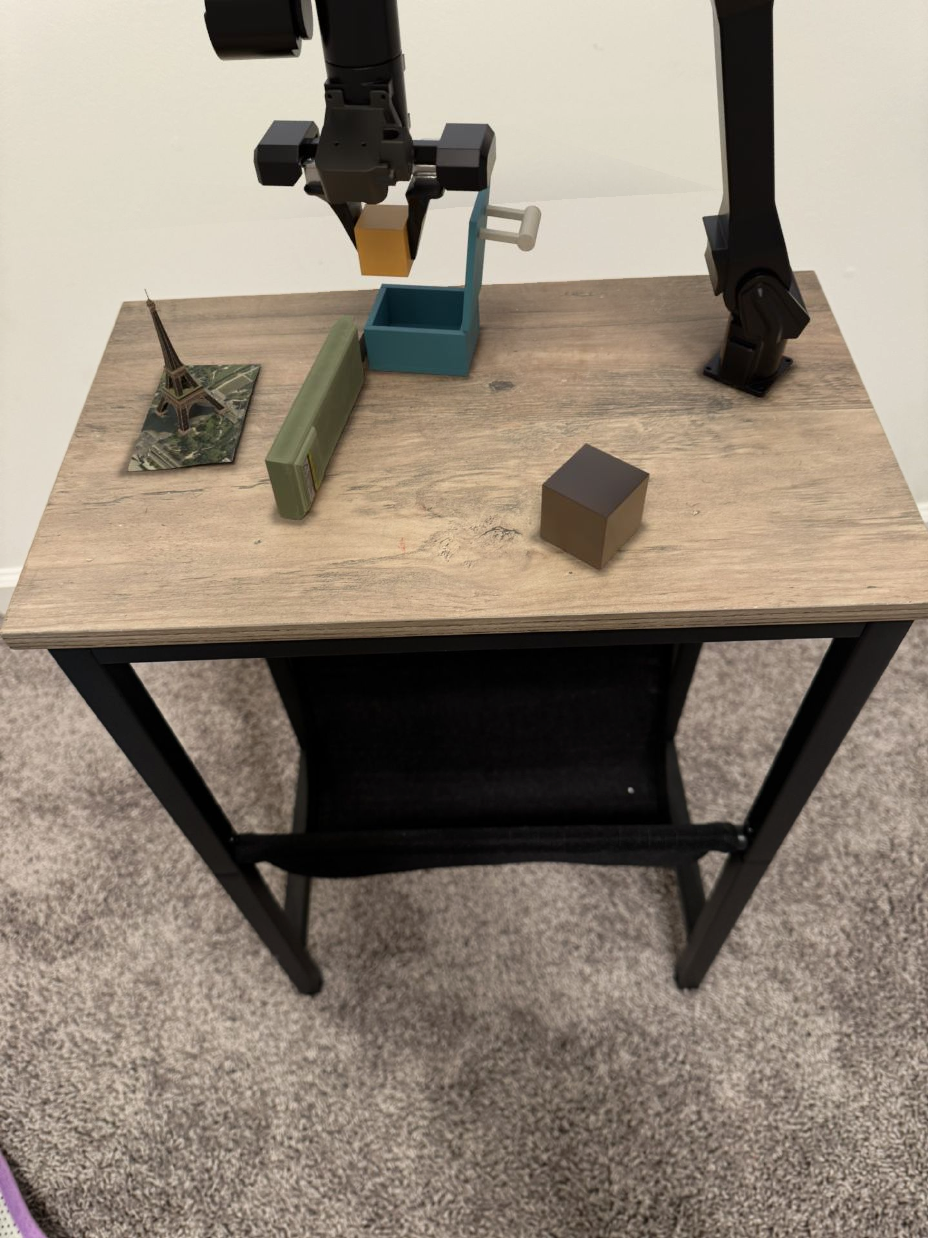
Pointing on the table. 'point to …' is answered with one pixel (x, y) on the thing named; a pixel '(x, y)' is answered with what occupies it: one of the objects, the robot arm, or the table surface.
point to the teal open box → (420, 330)
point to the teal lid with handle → (481, 234)
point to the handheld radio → (316, 420)
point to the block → (383, 241)
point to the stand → (593, 505)
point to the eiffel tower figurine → (192, 411)
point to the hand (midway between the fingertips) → (388, 256)
